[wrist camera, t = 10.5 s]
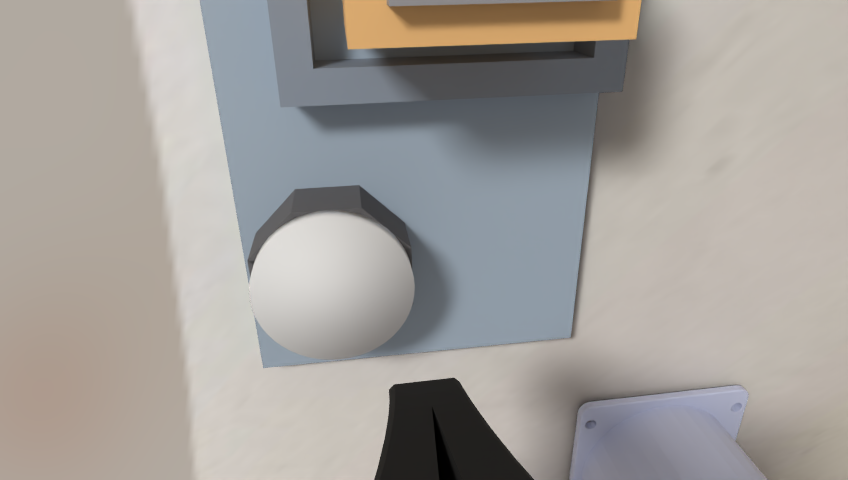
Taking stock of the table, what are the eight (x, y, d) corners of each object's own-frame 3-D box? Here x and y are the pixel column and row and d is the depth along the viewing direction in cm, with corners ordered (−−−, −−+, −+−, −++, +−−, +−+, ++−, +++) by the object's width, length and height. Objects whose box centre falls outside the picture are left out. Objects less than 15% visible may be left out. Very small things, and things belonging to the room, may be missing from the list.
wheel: (407, 309, 21) (416, 352, 19) (270, 322, 20) (261, 367, 18) (403, 182, 19) (412, 212, 17) (249, 191, 18) (236, 224, 16)
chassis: (563, 326, 23) (588, 365, 21) (265, 355, 22) (257, 400, 20) (622, -221, 16) (672, -254, 13) (166, -231, 14) (134, -269, 12)
